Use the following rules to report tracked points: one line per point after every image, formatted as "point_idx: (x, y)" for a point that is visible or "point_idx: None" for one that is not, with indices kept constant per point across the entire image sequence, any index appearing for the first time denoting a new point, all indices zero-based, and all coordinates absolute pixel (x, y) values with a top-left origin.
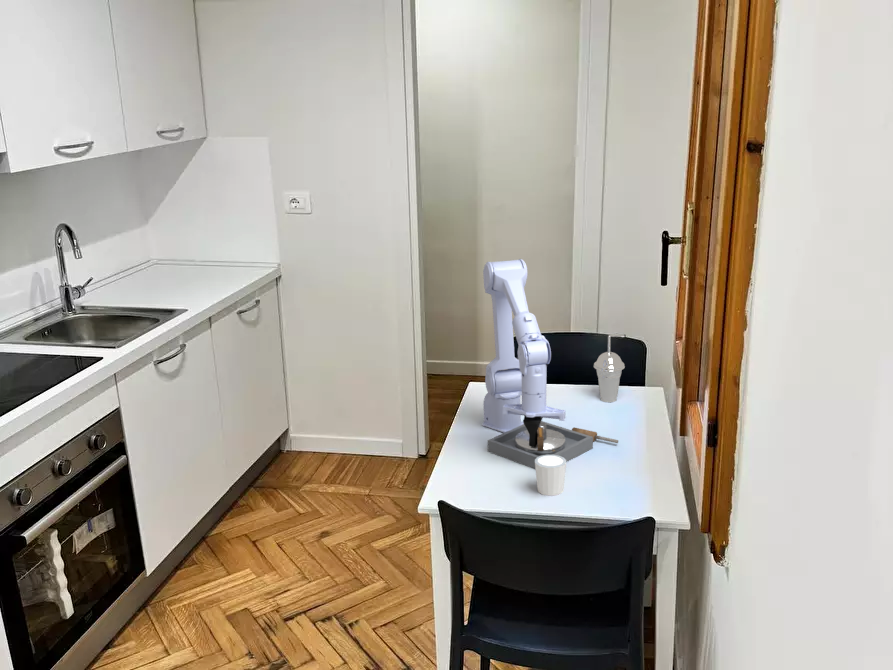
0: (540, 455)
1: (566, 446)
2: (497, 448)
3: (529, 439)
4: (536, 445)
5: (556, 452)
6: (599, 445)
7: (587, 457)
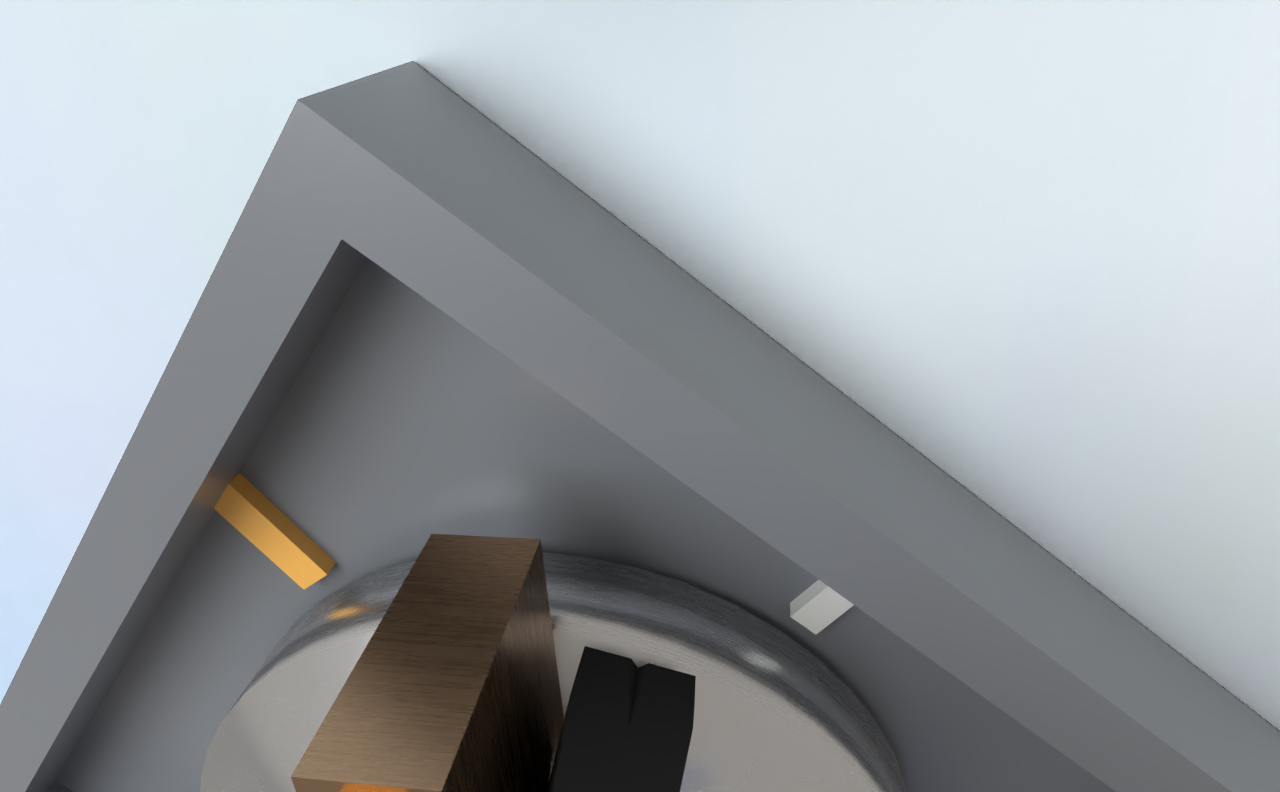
0: None
1: None
2: (1241, 751)
3: (673, 786)
4: None
5: None
6: None
7: (12, 552)
